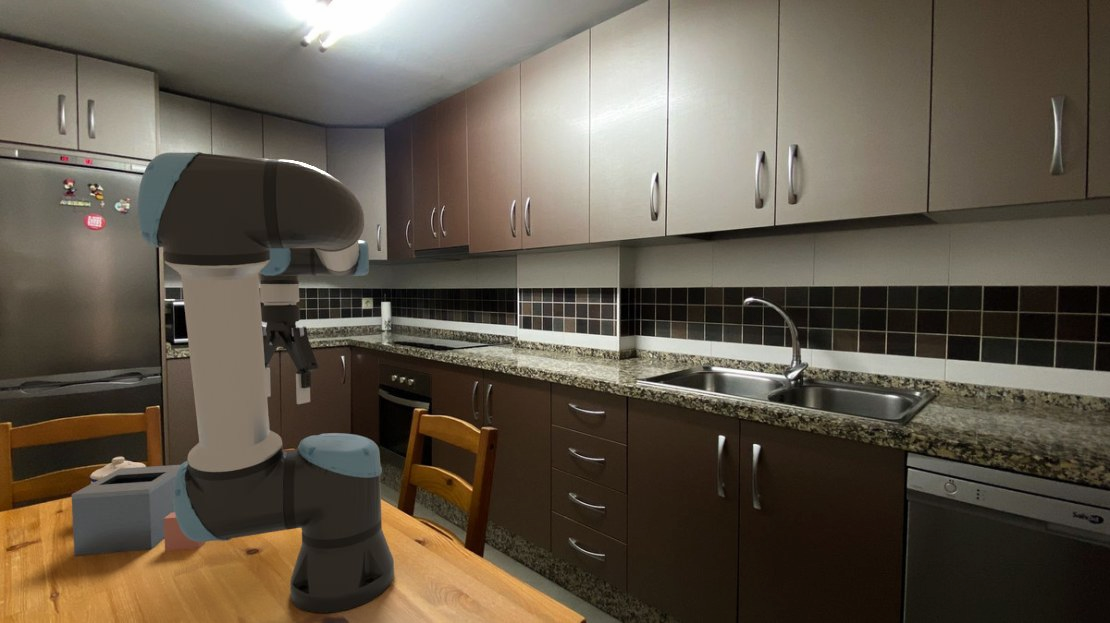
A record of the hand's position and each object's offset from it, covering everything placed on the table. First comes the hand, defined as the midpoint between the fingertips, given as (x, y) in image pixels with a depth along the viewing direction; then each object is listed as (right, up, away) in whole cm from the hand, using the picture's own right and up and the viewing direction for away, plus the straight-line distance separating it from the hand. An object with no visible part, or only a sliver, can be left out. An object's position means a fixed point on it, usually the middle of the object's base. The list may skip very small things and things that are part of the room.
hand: (283, 400), depth 112 cm
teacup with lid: (-32, -23, -5) cm, 40 cm away
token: (-7, -23, -20) cm, 31 cm away
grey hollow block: (-20, -23, -16) cm, 34 cm away
